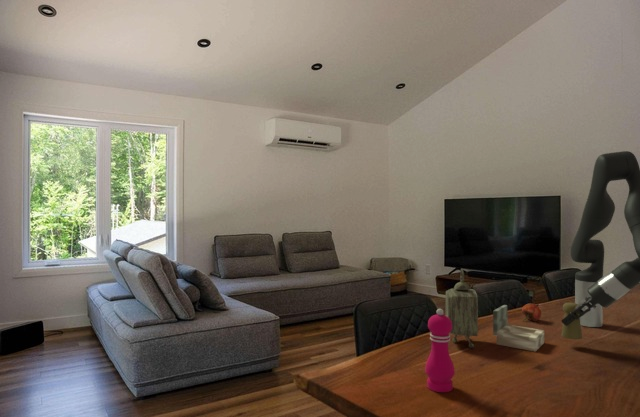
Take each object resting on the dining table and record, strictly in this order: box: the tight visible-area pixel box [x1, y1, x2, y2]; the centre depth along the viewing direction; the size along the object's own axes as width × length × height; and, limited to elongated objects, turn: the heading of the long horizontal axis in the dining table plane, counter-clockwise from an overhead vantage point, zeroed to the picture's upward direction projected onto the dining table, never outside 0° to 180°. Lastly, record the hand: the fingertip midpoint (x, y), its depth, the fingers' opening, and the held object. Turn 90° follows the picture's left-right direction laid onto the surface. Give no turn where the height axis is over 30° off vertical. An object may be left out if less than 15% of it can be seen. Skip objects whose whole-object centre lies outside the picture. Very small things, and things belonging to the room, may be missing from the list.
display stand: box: [492, 304, 545, 353], centre depth 151 cm, size 12×13×11 cm
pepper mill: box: [424, 308, 456, 393], centre depth 114 cm, size 7×7×20 cm
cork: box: [561, 302, 583, 340], centre depth 147 cm, size 6×6×11 cm
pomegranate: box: [521, 303, 542, 322], centre depth 181 cm, size 7×7×10 cm
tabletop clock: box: [445, 268, 479, 349], centre depth 151 cm, size 14×9×25 cm, turn 168°
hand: (565, 321), depth 148 cm, fingers closed on cork, 4 cm apart
